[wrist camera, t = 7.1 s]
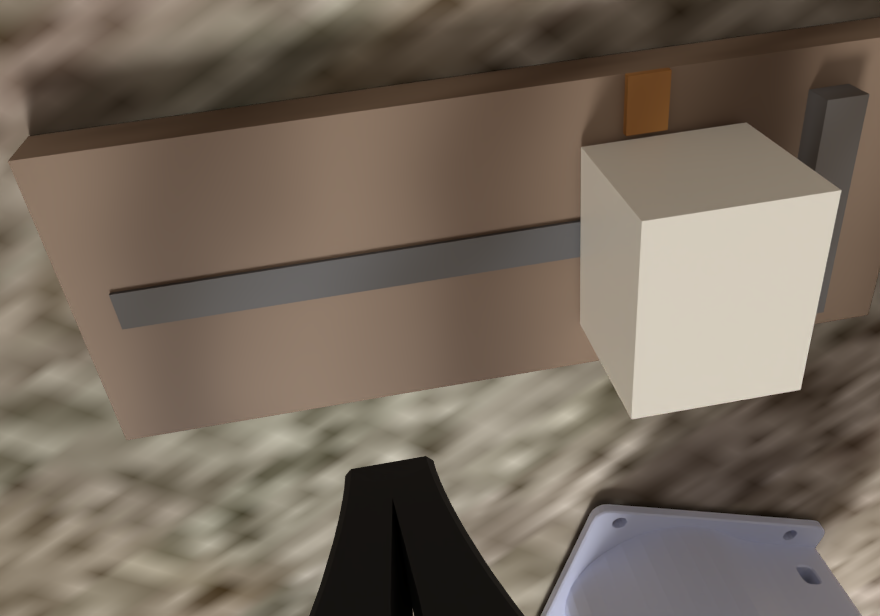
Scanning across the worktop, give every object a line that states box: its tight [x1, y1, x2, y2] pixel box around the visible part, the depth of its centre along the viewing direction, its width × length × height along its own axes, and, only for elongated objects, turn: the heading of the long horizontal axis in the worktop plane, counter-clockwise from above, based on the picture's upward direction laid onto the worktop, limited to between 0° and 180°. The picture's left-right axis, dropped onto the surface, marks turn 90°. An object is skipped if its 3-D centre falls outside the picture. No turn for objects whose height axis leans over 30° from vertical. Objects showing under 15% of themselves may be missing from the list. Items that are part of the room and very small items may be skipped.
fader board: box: [8, 17, 880, 440], centre depth 20 cm, size 21×8×2 cm, turn 95°
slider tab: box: [580, 123, 841, 419], centre depth 18 cm, size 4×5×4 cm
